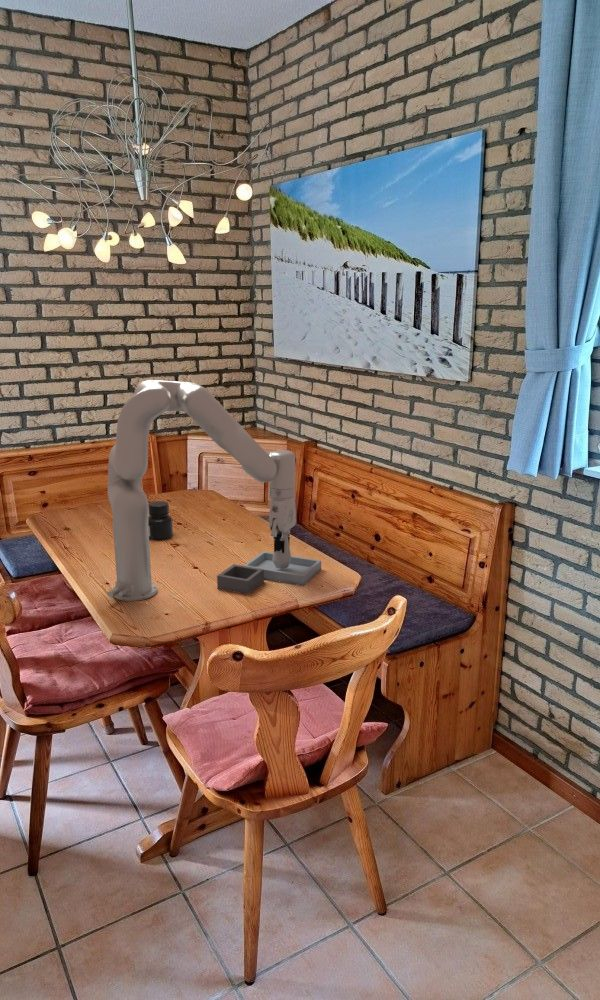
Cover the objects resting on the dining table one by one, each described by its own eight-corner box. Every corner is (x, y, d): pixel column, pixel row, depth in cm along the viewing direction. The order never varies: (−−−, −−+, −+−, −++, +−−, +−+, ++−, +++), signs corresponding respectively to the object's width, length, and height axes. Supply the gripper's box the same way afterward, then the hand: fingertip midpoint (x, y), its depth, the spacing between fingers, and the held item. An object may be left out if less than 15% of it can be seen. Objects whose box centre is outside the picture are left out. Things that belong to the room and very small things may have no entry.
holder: (248, 594, 201) (248, 581, 200) (217, 588, 205) (217, 575, 204) (263, 581, 210) (263, 569, 209) (233, 576, 213) (233, 564, 212)
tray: (303, 585, 207) (303, 576, 206) (242, 575, 215) (242, 566, 214) (321, 569, 219) (321, 560, 219) (263, 560, 227) (263, 551, 226)
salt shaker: (284, 571, 212) (284, 530, 209) (268, 567, 215) (268, 526, 212) (294, 565, 217) (295, 525, 214) (279, 561, 220) (279, 521, 216)
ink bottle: (155, 531, 254) (153, 499, 251) (177, 533, 252) (176, 501, 248) (142, 539, 245) (140, 506, 242) (165, 542, 243) (163, 508, 239)
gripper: (282, 500, 201) (281, 561, 206) (304, 487, 216) (303, 544, 221) (258, 497, 204) (258, 557, 209) (282, 484, 218) (281, 540, 224)
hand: (281, 550), depth 215 cm, fingers closed on salt shaker, 3 cm apart
